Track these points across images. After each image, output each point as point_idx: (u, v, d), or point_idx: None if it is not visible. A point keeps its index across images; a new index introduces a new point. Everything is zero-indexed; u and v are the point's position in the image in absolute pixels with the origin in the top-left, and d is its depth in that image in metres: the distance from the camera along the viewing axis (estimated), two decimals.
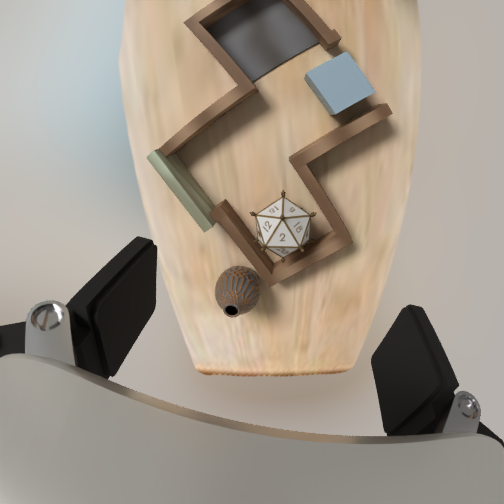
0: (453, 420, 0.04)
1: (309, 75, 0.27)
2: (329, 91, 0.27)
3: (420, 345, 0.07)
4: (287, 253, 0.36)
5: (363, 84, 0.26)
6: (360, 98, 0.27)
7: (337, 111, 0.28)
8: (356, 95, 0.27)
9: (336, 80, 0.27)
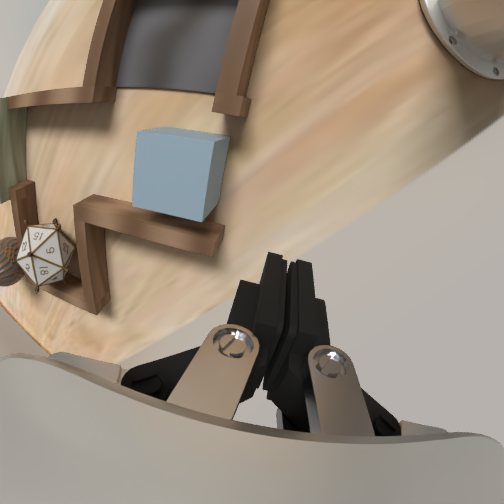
0: (323, 392, 0.05)
1: (138, 137, 0.18)
2: (143, 175, 0.19)
3: None
4: None
5: (193, 201, 0.20)
6: (174, 213, 0.20)
7: (136, 205, 0.20)
8: (172, 206, 0.20)
9: (162, 169, 0.19)
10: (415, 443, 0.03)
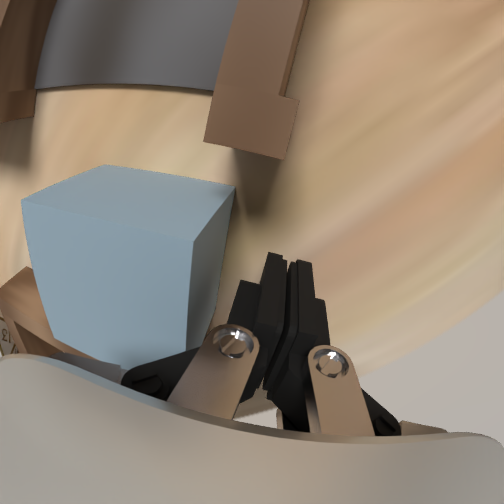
0: (323, 392, 0.05)
1: (25, 213, 0.06)
2: (53, 295, 0.08)
3: None
4: None
5: None
6: (128, 369, 0.09)
7: (59, 338, 0.09)
8: (120, 358, 0.09)
9: (82, 291, 0.07)
10: (415, 443, 0.03)
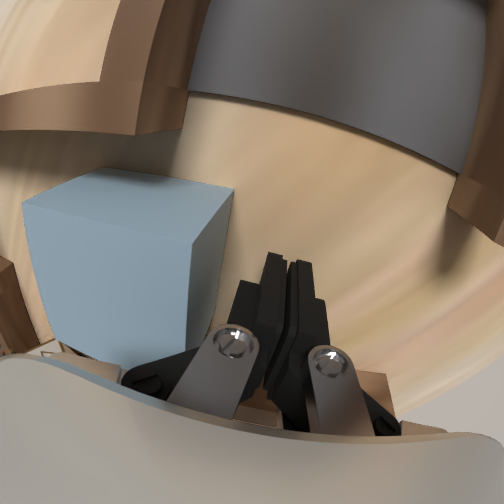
0: (323, 392, 0.05)
1: (26, 215, 0.06)
2: (54, 296, 0.08)
3: None
4: None
5: None
6: None
7: (60, 339, 0.09)
8: (121, 358, 0.09)
9: (82, 292, 0.07)
10: (415, 443, 0.03)
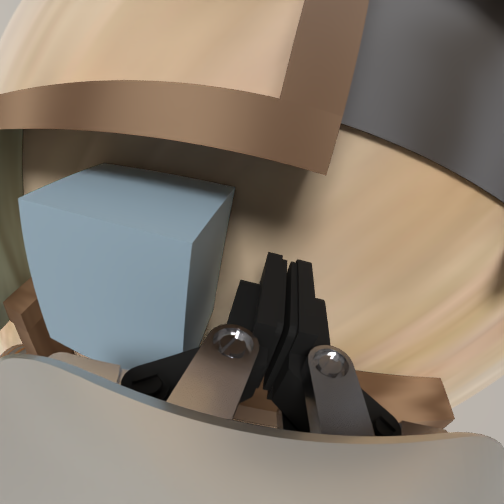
0: (323, 392, 0.05)
1: (22, 212, 0.06)
2: (49, 295, 0.08)
3: None
4: None
5: None
6: None
7: (55, 338, 0.09)
8: (117, 359, 0.08)
9: (79, 291, 0.07)
10: (415, 443, 0.03)
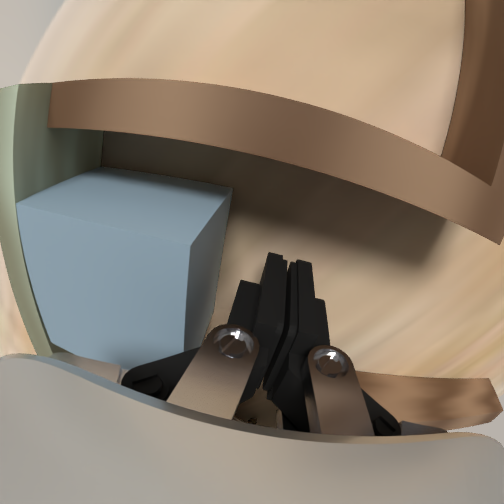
0: (323, 392, 0.05)
1: (20, 217, 0.06)
2: (49, 299, 0.07)
3: None
4: None
5: None
6: None
7: (56, 342, 0.09)
8: (118, 362, 0.08)
9: (78, 296, 0.07)
10: (415, 443, 0.03)
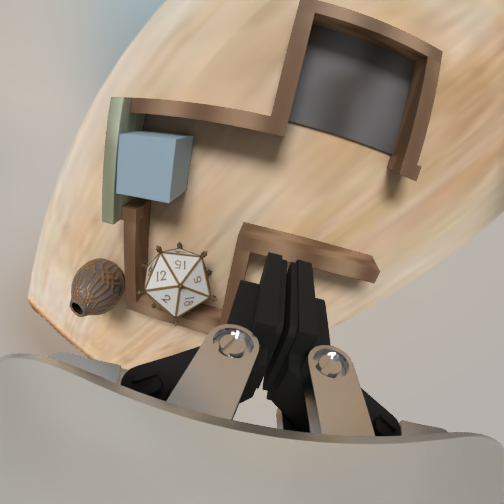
0: (323, 392, 0.05)
1: (120, 138, 0.22)
2: (124, 168, 0.24)
3: None
4: (161, 307, 0.29)
5: (162, 186, 0.24)
6: (148, 197, 0.25)
7: (119, 192, 0.25)
8: (147, 191, 0.25)
9: (139, 162, 0.23)
10: (415, 443, 0.03)
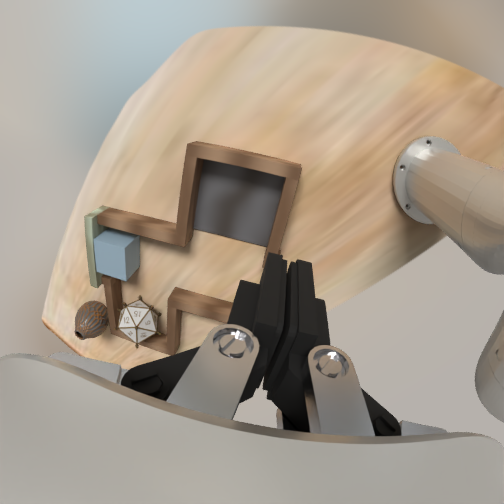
0: (323, 392, 0.05)
1: (94, 241, 0.38)
2: (99, 259, 0.39)
3: None
4: None
5: (121, 272, 0.40)
6: (114, 276, 0.41)
7: (98, 271, 0.41)
8: (113, 273, 0.40)
9: (106, 257, 0.39)
10: (415, 443, 0.03)
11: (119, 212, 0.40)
